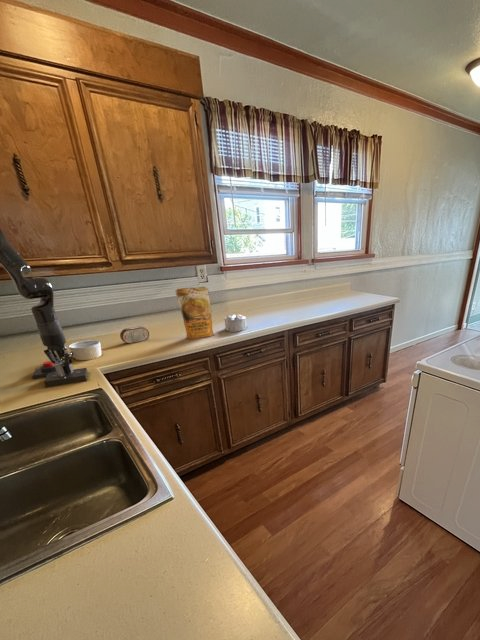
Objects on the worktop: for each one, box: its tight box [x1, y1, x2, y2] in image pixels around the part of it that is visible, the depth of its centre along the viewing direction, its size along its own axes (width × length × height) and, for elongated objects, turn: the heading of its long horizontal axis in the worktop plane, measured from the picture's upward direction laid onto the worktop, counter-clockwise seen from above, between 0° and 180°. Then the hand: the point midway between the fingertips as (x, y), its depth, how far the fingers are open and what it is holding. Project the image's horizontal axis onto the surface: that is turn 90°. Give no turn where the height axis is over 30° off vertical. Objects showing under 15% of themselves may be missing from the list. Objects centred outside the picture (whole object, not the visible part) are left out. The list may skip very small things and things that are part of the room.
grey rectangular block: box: [54, 363, 74, 377], centre depth 133 cm, size 6×2×5 cm, turn 161°
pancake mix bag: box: [175, 286, 215, 340], centre depth 188 cm, size 7×19×28 cm, turn 122°
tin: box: [119, 325, 150, 344], centre depth 183 cm, size 15×3×8 cm, turn 134°
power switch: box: [31, 363, 57, 380], centre depth 141 cm, size 12×9×4 cm
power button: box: [42, 360, 54, 368], centre depth 140 cm, size 4×4×2 cm
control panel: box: [43, 367, 89, 389], centre depth 135 cm, size 14×10×3 cm
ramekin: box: [68, 339, 102, 361], centre depth 160 cm, size 13×13×7 cm
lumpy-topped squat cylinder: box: [224, 313, 247, 333], centre depth 208 cm, size 10×13×9 cm
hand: (66, 373), depth 134 cm, fingers closed on grey rectangular block, 2 cm apart
